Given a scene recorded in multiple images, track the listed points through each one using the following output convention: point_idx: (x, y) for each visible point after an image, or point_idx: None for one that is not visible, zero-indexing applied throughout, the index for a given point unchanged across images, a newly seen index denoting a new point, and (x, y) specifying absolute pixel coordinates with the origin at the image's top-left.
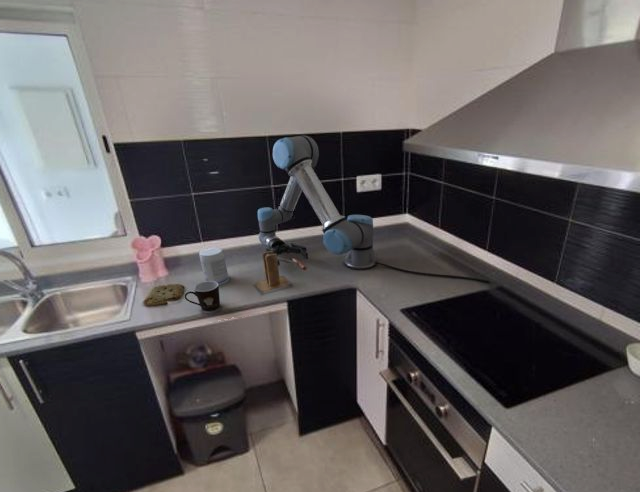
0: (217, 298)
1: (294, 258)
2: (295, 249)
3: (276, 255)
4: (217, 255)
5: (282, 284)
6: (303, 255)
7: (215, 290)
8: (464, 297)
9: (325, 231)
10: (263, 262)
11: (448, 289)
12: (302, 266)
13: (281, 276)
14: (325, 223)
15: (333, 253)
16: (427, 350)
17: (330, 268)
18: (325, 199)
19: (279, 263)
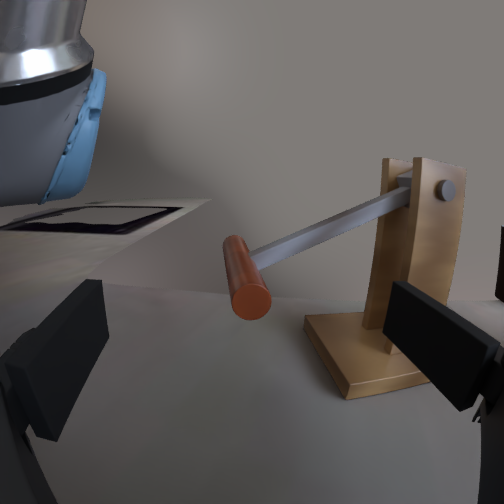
0: (499, 258)
1: (251, 279)
2: (37, 484)
3: (382, 164)
4: None
5: (349, 320)
6: (84, 362)
7: (501, 231)
8: (35, 229)
9: (88, 74)
10: (458, 228)
11: (19, 236)
12: (242, 240)
13: (358, 375)
14: (80, 36)
15: (79, 191)
16: (176, 218)
17: None
18: None
19: (388, 315)
